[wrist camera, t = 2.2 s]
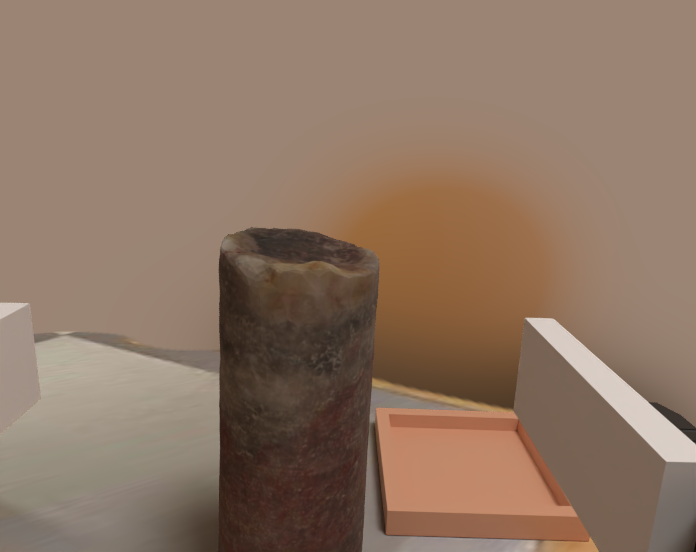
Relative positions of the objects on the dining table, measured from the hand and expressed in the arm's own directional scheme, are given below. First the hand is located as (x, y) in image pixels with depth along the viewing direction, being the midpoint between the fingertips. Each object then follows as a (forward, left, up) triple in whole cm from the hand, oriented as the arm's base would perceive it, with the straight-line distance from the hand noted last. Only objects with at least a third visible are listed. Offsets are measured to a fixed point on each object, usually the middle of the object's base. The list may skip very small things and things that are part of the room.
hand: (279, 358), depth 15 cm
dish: (+12, +22, -19) cm, 31 cm away
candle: (0, +10, -19) cm, 22 cm away
